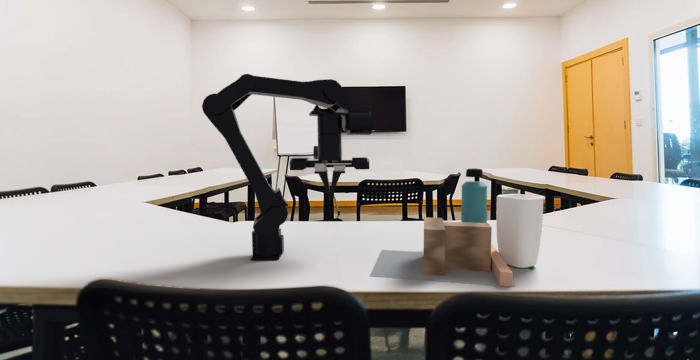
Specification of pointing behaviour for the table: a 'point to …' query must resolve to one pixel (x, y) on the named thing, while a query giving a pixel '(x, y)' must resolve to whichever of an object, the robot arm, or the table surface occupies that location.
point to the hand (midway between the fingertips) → (330, 199)
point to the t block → (456, 246)
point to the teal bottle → (474, 199)
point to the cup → (519, 228)
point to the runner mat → (412, 268)
